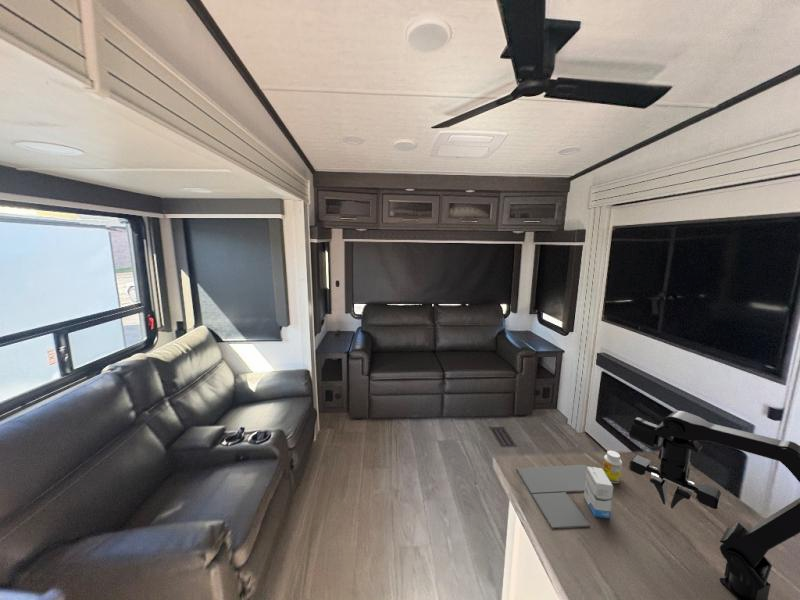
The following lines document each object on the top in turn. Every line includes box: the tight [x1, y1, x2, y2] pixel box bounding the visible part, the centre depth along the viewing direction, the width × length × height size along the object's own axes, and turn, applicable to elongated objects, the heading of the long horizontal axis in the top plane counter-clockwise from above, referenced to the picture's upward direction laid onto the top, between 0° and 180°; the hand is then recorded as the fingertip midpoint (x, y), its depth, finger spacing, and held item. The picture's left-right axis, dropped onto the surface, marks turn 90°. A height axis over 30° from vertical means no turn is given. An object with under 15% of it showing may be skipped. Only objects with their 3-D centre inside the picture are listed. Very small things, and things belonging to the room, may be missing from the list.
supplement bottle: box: [602, 450, 623, 484], centre depth 113 cm, size 6×6×10 cm
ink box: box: [583, 465, 614, 519], centre depth 101 cm, size 8×5×12 cm, turn 168°
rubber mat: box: [516, 464, 591, 530], centre depth 107 cm, size 26×28×1 cm
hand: (668, 505), depth 87 cm, fingers closed
